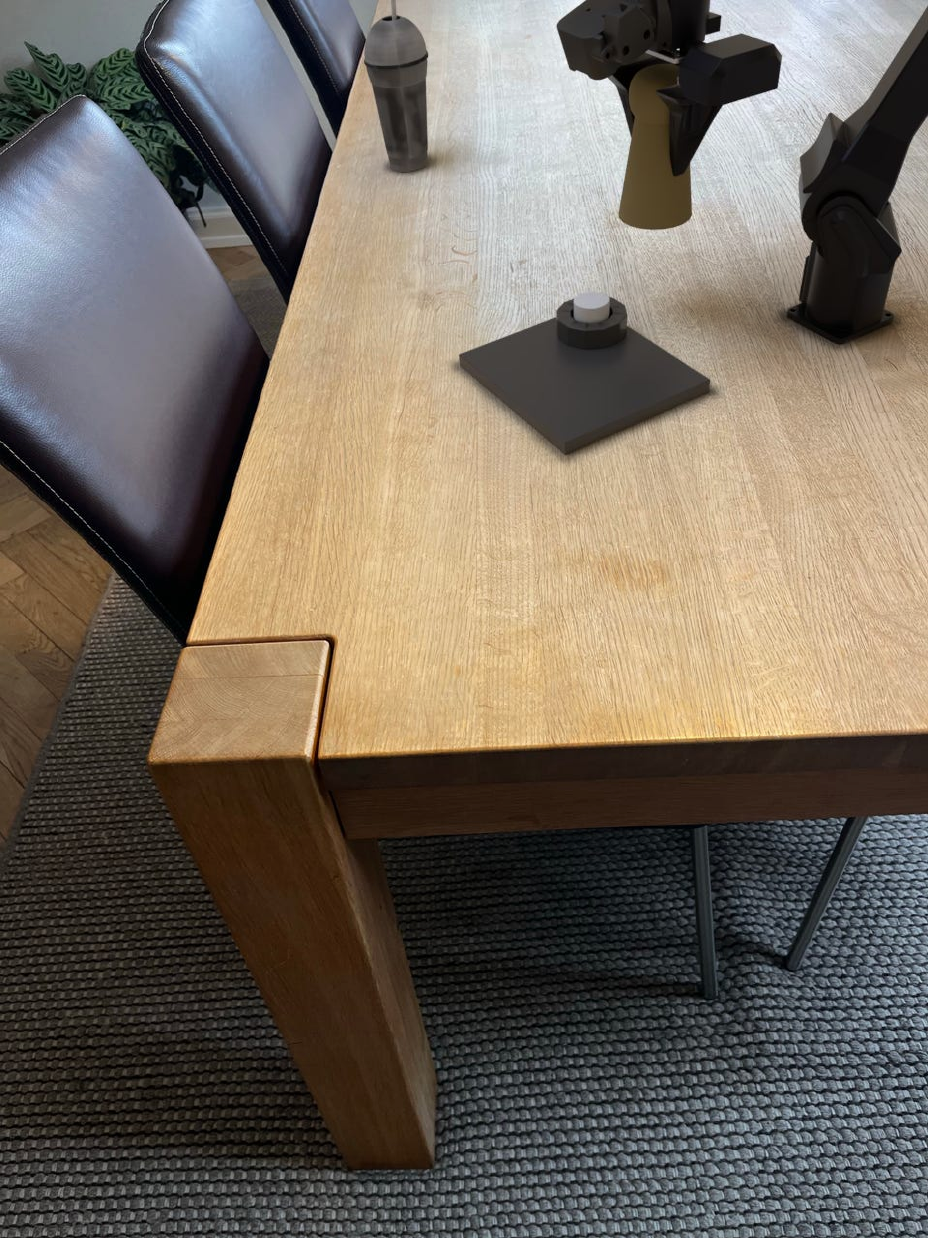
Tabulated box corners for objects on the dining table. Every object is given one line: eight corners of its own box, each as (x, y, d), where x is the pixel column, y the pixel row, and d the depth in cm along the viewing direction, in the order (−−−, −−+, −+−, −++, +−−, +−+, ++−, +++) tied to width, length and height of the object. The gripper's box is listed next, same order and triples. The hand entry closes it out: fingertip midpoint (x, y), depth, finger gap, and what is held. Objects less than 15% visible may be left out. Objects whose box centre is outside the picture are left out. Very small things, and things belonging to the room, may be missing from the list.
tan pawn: (689, 230, 78) (703, 81, 70) (613, 228, 79) (619, 81, 71) (694, 199, 82) (708, 54, 74) (623, 197, 83) (629, 54, 75)
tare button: (616, 317, 82) (616, 300, 81) (587, 328, 81) (587, 311, 80) (595, 303, 84) (595, 287, 83) (566, 314, 83) (566, 298, 82)
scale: (709, 392, 78) (713, 359, 76) (565, 455, 74) (564, 422, 71) (592, 314, 88) (592, 283, 86) (459, 366, 84) (456, 335, 82)
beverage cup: (367, 172, 116) (337, -24, 101) (398, 149, 120) (373, -42, 106) (420, 179, 113) (397, -21, 98) (450, 155, 117) (432, -40, 103)
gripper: (504, -65, 70) (514, 157, 82) (660, -19, 58) (646, 235, 70) (631, -94, 73) (624, 124, 85) (803, -56, 62) (768, 192, 73)
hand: (659, 166), depth 78 cm, fingers closed on tan pawn, 4 cm apart
